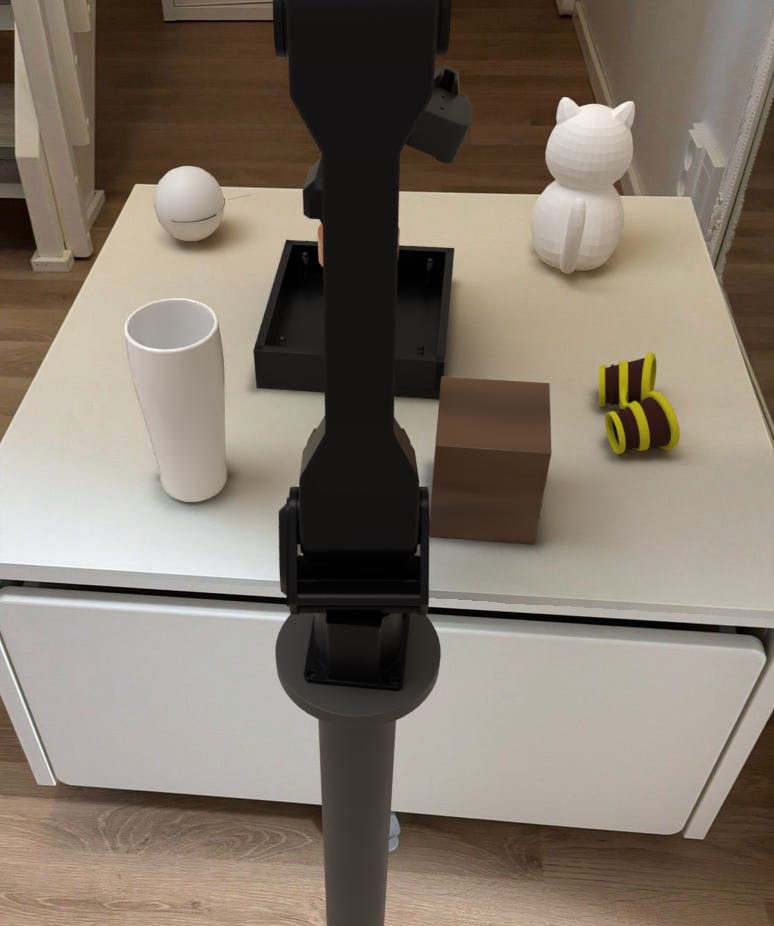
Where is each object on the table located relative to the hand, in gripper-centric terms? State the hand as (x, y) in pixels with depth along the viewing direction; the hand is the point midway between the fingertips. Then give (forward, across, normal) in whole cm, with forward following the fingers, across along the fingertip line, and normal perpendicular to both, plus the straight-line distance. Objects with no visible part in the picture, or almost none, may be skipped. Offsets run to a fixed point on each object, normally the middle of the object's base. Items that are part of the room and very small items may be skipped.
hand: (357, 246), depth 86 cm
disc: (+1, 0, 0) cm, 1 cm away
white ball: (+11, +19, +18) cm, 29 cm away
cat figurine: (+11, +18, -20) cm, 29 cm away
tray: (+11, +3, 0) cm, 11 cm away
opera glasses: (+11, -8, -24) cm, 27 cm away
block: (+11, -19, -12) cm, 25 cm away
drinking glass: (+11, -19, +11) cm, 24 cm away
